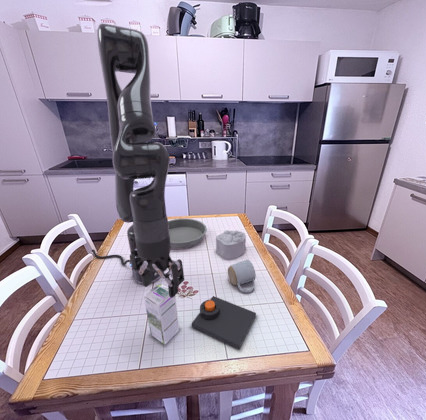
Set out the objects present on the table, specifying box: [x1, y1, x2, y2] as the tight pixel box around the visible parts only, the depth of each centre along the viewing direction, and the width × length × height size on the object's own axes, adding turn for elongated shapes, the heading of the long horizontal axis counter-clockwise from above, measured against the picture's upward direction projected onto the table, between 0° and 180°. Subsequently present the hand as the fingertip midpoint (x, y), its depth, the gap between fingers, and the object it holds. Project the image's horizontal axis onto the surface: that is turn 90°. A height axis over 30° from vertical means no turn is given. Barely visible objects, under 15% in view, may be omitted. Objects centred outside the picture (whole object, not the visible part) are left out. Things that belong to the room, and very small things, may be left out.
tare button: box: [205, 299, 215, 312], centre depth 70 cm, size 3×3×2 cm
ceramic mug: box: [227, 259, 257, 294], centre depth 83 cm, size 11×8×8 cm
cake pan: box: [168, 218, 208, 250], centre depth 114 cm, size 25×25×4 cm
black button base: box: [191, 295, 257, 350], centre depth 69 cm, size 16×12×4 cm
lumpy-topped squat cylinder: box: [215, 229, 247, 261], centre depth 103 cm, size 10×13×9 cm
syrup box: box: [143, 283, 180, 346], centre depth 63 cm, size 6×6×14 cm
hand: (160, 289), depth 60 cm, fingers open, 8 cm apart
